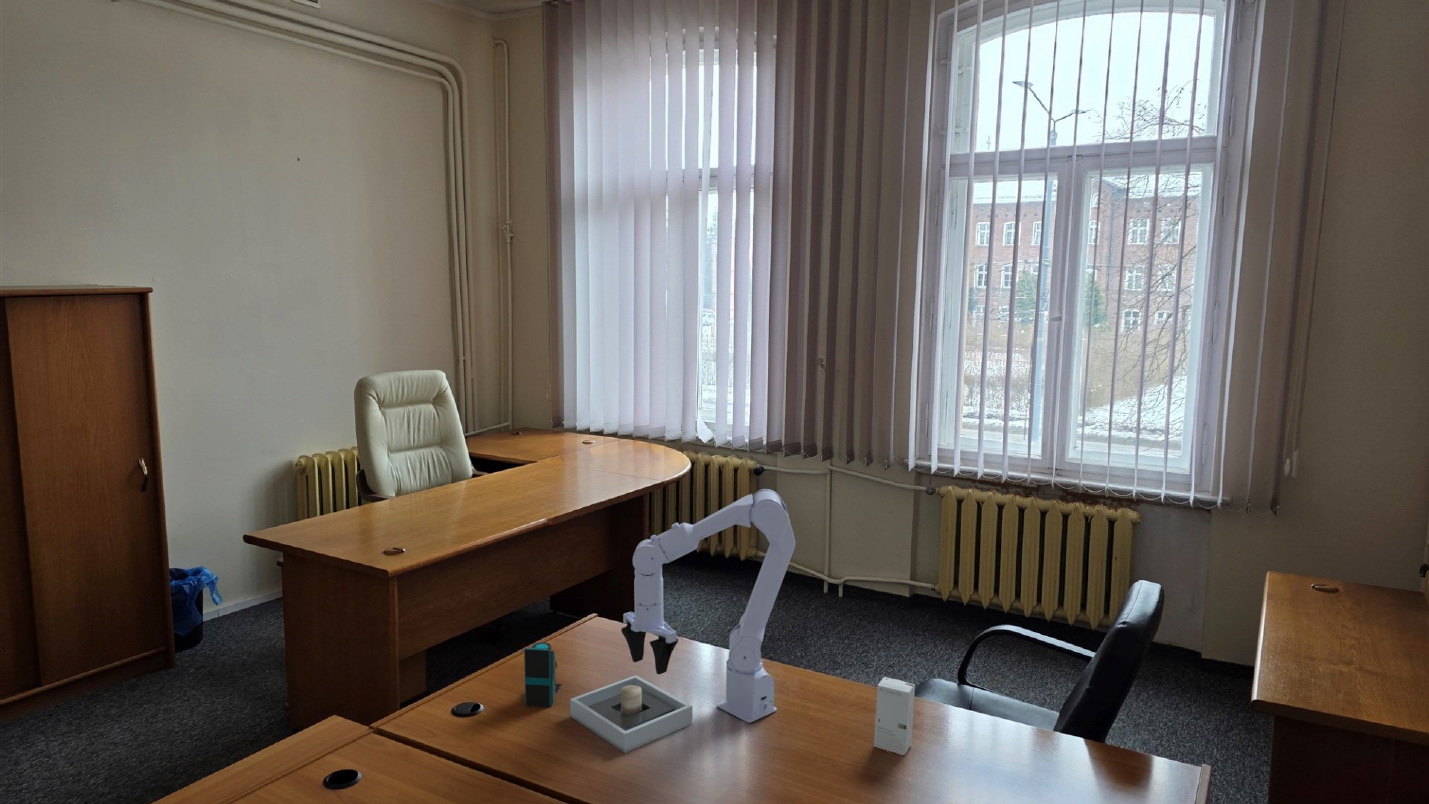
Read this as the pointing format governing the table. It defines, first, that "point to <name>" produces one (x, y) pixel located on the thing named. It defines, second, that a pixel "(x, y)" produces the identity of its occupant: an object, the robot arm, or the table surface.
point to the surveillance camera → (540, 676)
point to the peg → (631, 700)
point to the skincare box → (894, 715)
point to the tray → (637, 734)
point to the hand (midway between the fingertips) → (649, 666)
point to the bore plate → (650, 711)
